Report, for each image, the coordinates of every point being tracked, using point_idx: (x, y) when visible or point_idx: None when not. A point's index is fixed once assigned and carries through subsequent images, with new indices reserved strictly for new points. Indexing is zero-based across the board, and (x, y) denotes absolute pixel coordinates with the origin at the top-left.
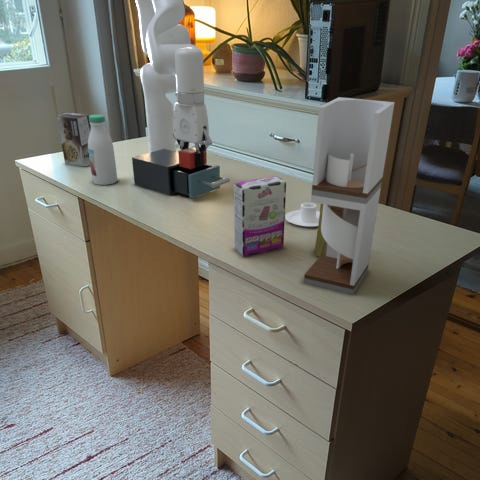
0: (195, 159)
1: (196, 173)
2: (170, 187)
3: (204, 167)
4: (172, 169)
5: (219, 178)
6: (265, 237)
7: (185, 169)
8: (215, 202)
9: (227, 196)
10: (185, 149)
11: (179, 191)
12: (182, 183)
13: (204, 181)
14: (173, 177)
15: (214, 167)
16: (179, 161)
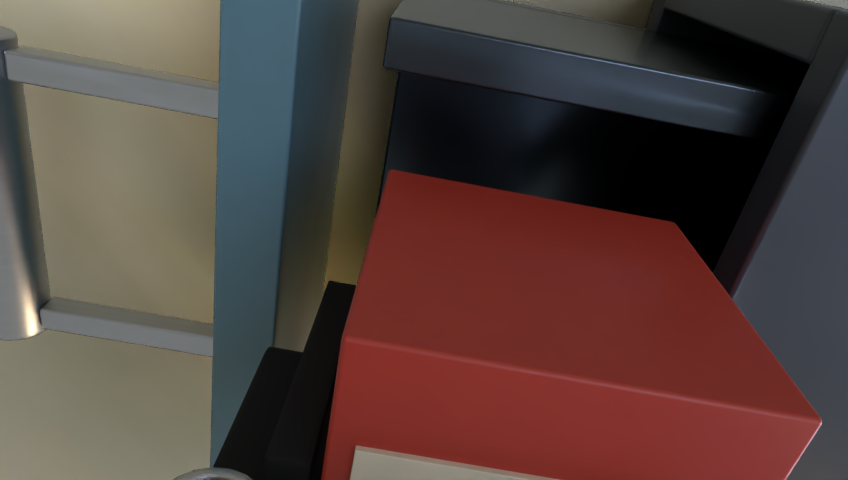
0: (328, 362)
1: (232, 103)
2: (687, 3)
3: None
4: (767, 123)
5: (126, 314)
6: None
7: None
8: (119, 49)
9: (148, 245)
10: None
11: (547, 10)
12: (496, 12)
13: (150, 96)
14: (688, 56)
15: (218, 449)
16: (690, 263)
